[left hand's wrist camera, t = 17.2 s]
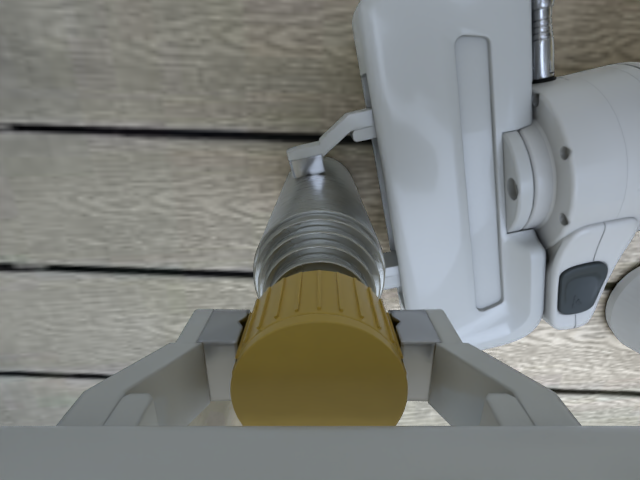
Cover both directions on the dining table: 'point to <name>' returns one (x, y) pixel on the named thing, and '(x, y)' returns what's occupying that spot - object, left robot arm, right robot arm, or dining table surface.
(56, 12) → the dining table surface
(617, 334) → the pendant light
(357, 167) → the dining table surface
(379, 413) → the cap
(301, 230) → the bottle
